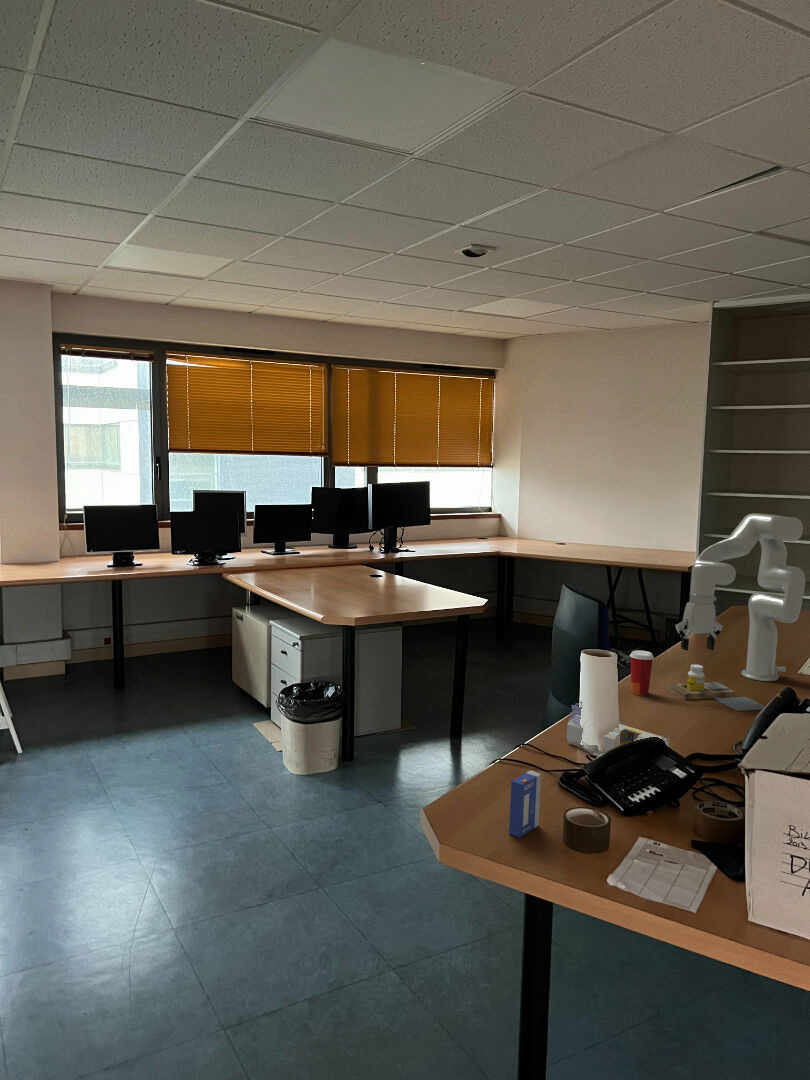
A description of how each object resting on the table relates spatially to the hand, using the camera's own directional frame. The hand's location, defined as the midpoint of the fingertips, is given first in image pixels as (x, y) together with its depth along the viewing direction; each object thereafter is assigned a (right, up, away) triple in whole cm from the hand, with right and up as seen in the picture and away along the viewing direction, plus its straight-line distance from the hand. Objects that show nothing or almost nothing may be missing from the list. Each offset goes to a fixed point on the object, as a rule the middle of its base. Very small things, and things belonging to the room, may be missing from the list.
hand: (697, 649), depth 265 cm
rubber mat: (+12, -17, -8) cm, 22 cm away
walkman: (-74, -25, -98) cm, 125 cm away
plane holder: (+2, -15, +2) cm, 16 cm away
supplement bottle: (0, -16, +2) cm, 16 cm away
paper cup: (-19, -15, +1) cm, 25 cm away
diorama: (-42, -21, -53) cm, 71 cm away
